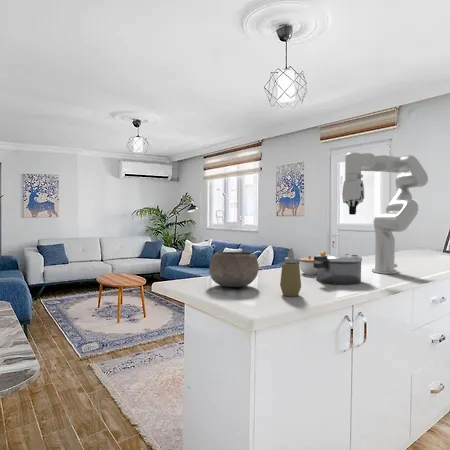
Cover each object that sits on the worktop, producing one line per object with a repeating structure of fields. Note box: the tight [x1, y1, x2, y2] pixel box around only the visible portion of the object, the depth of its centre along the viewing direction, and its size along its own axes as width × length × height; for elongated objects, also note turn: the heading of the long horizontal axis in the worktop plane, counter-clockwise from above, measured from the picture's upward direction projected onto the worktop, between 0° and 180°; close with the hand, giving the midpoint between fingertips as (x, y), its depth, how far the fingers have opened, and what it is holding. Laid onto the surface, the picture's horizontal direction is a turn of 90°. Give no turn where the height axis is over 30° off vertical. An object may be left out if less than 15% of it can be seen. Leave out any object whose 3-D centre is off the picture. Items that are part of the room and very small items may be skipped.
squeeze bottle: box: [279, 248, 302, 297], centre depth 138 cm, size 8×8×18 cm
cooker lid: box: [313, 251, 363, 263], centre depth 166 cm, size 27×21×3 cm
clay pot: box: [208, 251, 260, 288], centre depth 153 cm, size 21×21×15 cm
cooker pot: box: [314, 261, 362, 286], centre depth 166 cm, size 26×20×10 cm
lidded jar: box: [298, 255, 316, 276], centre depth 187 cm, size 11×11×9 cm
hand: (352, 214), depth 180 cm, fingers closed
